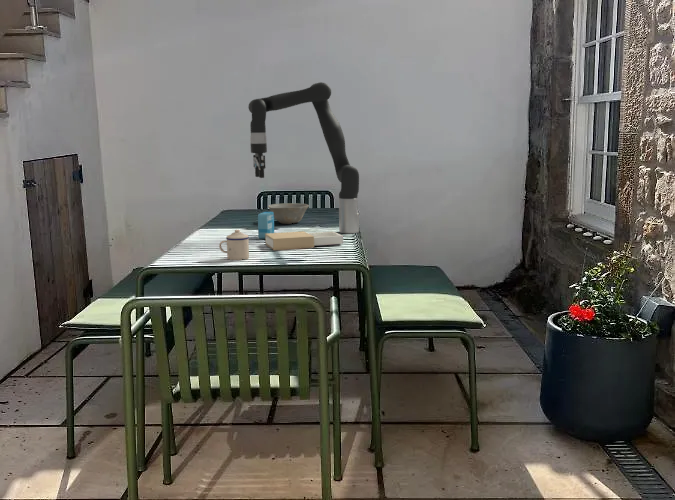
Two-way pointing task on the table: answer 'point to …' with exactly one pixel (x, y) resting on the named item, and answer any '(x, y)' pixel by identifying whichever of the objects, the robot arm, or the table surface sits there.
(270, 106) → the robot arm
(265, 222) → the data package
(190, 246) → the table surface
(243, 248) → the teacup with lid
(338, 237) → the tray
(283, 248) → the mailer sleeve
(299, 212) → the ceramic bowl
